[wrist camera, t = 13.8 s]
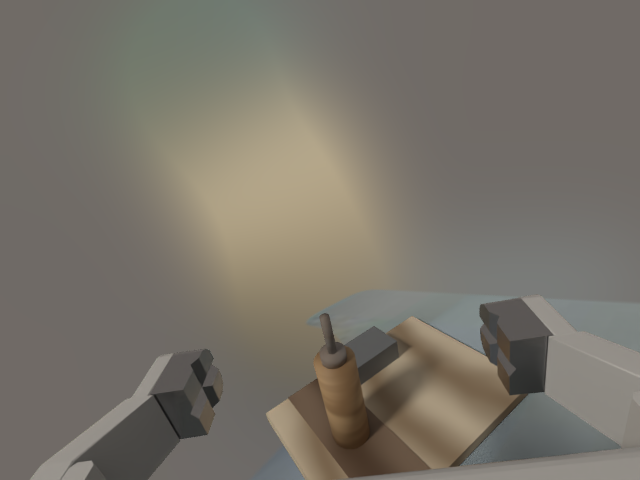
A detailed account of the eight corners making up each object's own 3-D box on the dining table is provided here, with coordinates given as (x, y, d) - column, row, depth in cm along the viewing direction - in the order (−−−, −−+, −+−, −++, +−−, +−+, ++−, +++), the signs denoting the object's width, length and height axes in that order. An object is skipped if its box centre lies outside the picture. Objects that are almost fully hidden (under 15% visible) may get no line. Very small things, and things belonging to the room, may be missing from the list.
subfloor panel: (412, 322, 42) (411, 315, 41) (532, 389, 30) (532, 380, 30) (268, 420, 33) (265, 412, 32) (360, 567, 21) (358, 558, 21)
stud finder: (376, 341, 38) (373, 323, 37) (399, 357, 35) (396, 338, 34) (334, 370, 36) (329, 351, 35) (354, 389, 33) (350, 370, 32)
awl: (353, 408, 31) (329, 298, 26) (377, 432, 28) (355, 315, 24) (325, 429, 29) (294, 317, 25) (347, 457, 27) (318, 337, 22)
